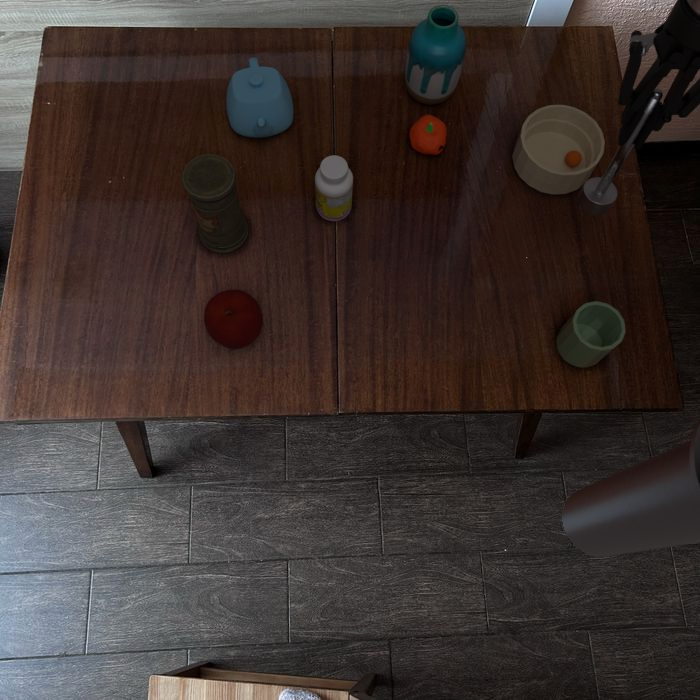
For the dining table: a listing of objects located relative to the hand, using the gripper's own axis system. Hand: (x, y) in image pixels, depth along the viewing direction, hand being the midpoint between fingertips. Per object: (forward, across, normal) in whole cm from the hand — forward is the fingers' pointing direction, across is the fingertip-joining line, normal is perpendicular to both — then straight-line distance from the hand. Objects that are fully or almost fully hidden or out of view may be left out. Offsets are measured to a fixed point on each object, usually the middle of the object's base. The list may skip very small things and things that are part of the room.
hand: (629, 139), depth 97 cm
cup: (+32, -6, +18) cm, 37 cm away
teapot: (+31, +60, -13) cm, 69 cm away
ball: (+30, +1, -18) cm, 35 cm away
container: (+32, +60, +12) cm, 69 cm away
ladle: (+14, 0, +2) cm, 14 cm away
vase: (+31, +30, -28) cm, 52 cm away
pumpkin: (+32, +28, -16) cm, 45 cm away
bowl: (+32, +4, -18) cm, 37 cm away
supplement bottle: (+32, +42, +2) cm, 53 cm away
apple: (+32, +52, +30) cm, 68 cm away
